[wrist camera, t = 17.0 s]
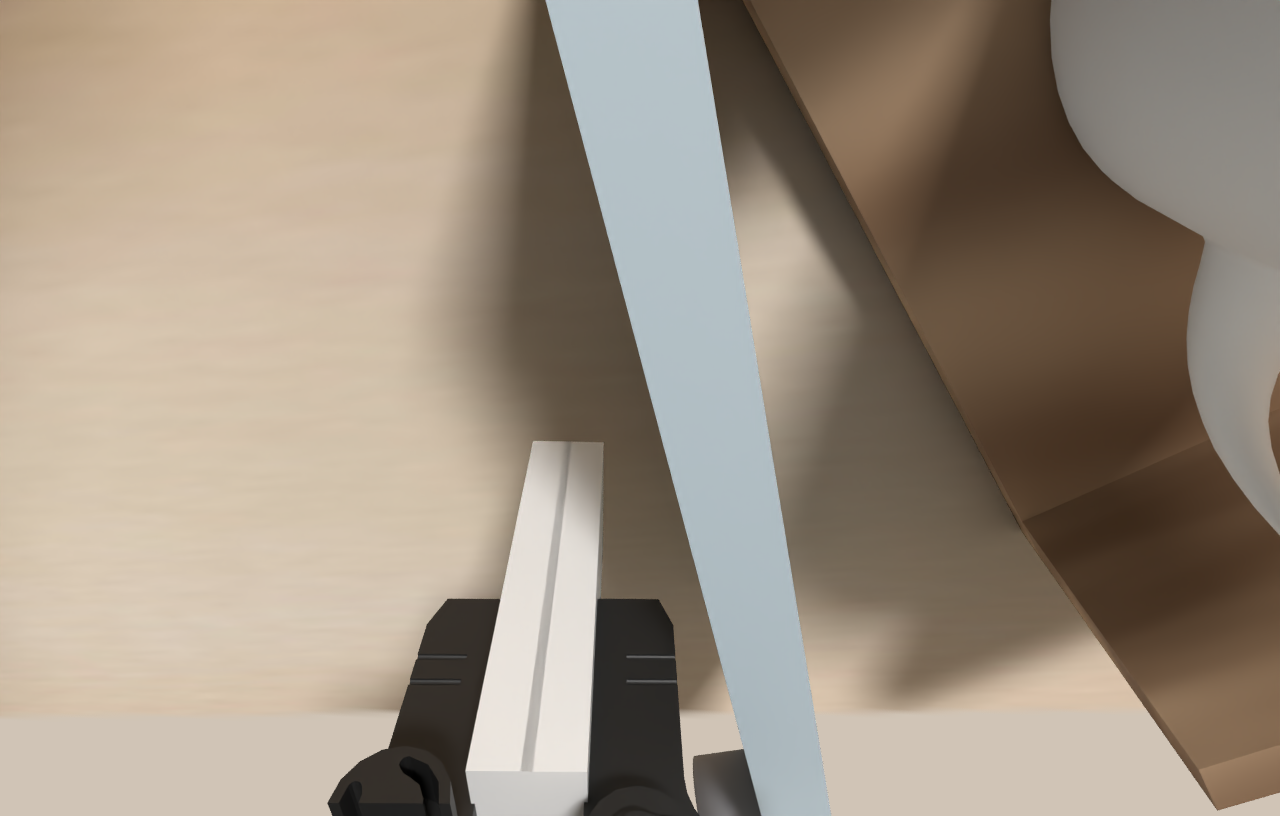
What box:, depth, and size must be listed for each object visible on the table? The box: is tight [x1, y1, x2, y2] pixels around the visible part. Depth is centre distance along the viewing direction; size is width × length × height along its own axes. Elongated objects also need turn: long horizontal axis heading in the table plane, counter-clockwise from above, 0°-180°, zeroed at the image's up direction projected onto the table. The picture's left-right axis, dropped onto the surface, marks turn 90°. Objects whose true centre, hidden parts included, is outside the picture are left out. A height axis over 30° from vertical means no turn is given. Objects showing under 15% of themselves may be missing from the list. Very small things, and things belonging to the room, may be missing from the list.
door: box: [546, 0, 831, 816], centre depth 12 cm, size 15×2×8 cm, turn 13°
